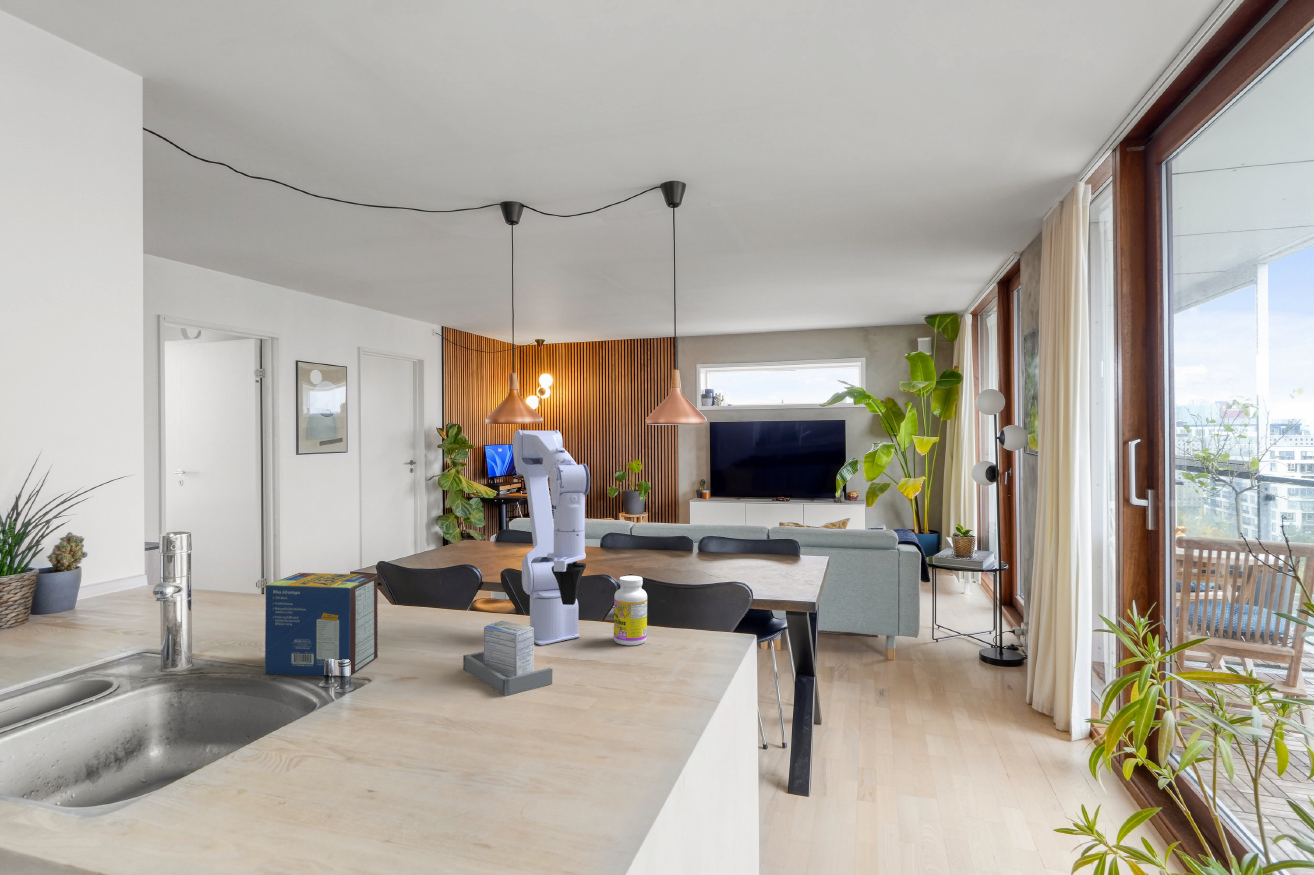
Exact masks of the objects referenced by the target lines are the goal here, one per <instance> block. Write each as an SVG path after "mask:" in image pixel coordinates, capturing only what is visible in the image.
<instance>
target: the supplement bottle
mask: <svg viewBox="0 0 1314 875" xmlns="http://www.w3.org/2000/svg"><path fill="white" fill-rule="evenodd" d="M618 579H619V581H618V583H619V587H620V588H619V589H617V590H616V591H615V593H614V597H613V598H614V600H613V601H614V603H613V606H614V607H613V641H614V642H615V643H617V644H619V645H621V646H631V647H632V646H638V645H642V644H644V643H645V642H646V641H647V638H648V637H647V634H648V632H647V631H648V594H647V592H646V590H645V589H643V588H642V586H643V584H644V583H643V582H644V581H643V577H642V576H639V575H623V576H620V577H619V578H618Z"/></svg>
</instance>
